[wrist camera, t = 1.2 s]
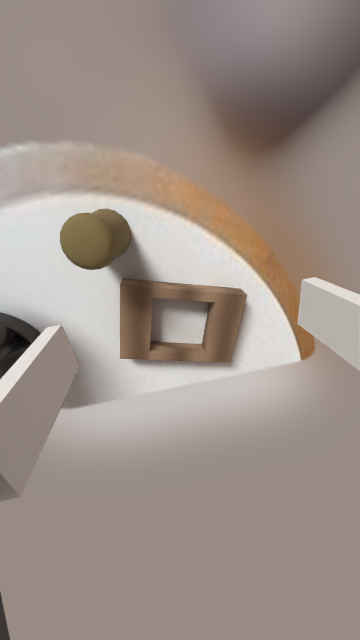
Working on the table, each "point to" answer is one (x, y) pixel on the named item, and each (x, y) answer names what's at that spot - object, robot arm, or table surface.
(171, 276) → the table surface
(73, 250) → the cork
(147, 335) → the brown picture frame
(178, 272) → the table surface
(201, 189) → the table surface
